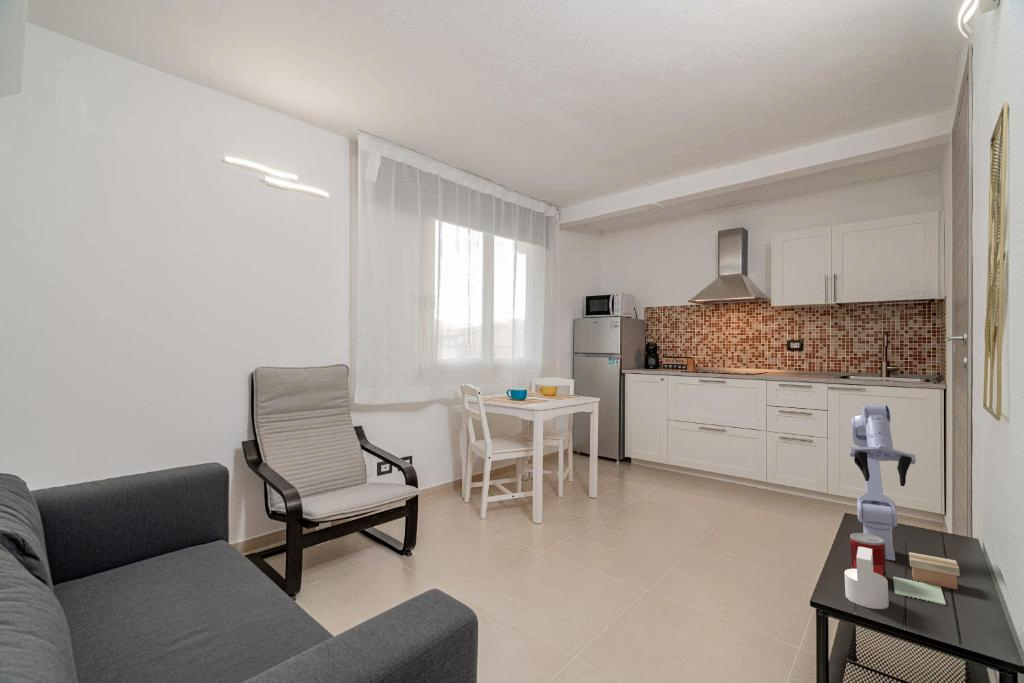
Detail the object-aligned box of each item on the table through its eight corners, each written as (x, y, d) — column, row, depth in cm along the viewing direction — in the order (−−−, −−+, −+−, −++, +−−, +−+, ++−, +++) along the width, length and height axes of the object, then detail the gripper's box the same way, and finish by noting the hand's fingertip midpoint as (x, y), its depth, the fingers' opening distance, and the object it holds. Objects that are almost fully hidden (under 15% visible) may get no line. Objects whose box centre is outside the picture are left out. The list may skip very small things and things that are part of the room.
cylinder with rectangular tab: (846, 587, 128) (844, 543, 129) (888, 597, 122) (886, 551, 123) (844, 601, 121) (841, 554, 122) (888, 613, 116) (886, 563, 116)
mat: (893, 577, 133) (893, 576, 133) (940, 587, 127) (940, 586, 127) (894, 594, 124) (894, 592, 124) (945, 605, 118) (945, 604, 118)
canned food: (892, 583, 130) (890, 543, 130) (860, 581, 131) (858, 542, 132) (877, 571, 137) (875, 533, 138) (846, 569, 139) (844, 532, 139)
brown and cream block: (912, 574, 135) (911, 560, 135) (954, 583, 129) (954, 568, 129) (913, 580, 131) (912, 566, 131) (957, 589, 126) (956, 574, 126)
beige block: (909, 559, 136) (908, 552, 136) (956, 567, 130) (955, 560, 130) (910, 566, 131) (910, 559, 131) (959, 576, 125) (959, 568, 125)
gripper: (850, 428, 136) (854, 469, 127) (914, 434, 129) (923, 478, 120) (847, 442, 140) (850, 482, 132) (909, 449, 133) (917, 492, 125)
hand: (885, 481), depth 127 cm, fingers open, 7 cm apart
